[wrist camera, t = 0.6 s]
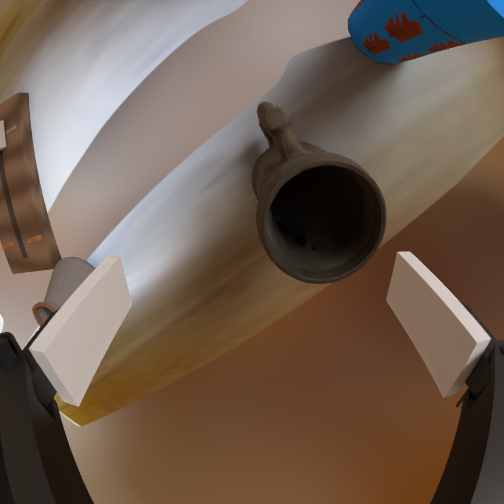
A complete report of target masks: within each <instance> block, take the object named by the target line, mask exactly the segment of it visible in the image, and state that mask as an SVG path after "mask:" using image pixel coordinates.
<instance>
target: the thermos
mask: <svg viewBox="0 0 504 504" xmlns="http://www.w3.org/2000/svg"><path fill="white" fill-rule="evenodd" d="M348 30H349V33H350V35H351V38H352V40H353V42H354V43H355V44H356V46H357V47H358V48H359V49H360V50H361V51H362V52H363V53H364V54H366V55H367V56H368V57H369V58H371V59H373V60H376V61H378V62H380V63H385V64H395V63H400V62H404V61H408V60H412V59H416V58H419V57H422V56H425V55H429V54H432V53H435V52H439V51H442V50H446V49H449V48H453V47H457V46H461V45H465V44H469V43H473V42H478V41H483V40H488V39H493V38H499V37H504V0H361V1H360V2H359V3H358V4H357V6H356V7H355V8H354V10H353V11H352V13H351V15H350V17H349V19H348Z"/></svg>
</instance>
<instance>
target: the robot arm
mask: <svg viewBox="0 0 504 504" xmlns="http://www.w3.org/2000/svg"><path fill="white" fill-rule="evenodd" d="M386 301H387V302H388V304H389V305H390V307H391V308H392V310H393V311H394V313H395V315H396V316H397V318H398V319H399V321H400V322H401V324H402V326H403V327H404V329H405V330H406V332H407V334H408V335H409V337H410V339H411V340H412V342H413V344H414V345H415V347H416V349H417V350H418V352H419V354H420V355H421V357H422V359H423V361H424V362H425V364H426V366H427V368H428V369H429V371H430V373H431V375H432V377H433V379H434V380H435V382H436V384H437V386H438V388H439V390H440V392H441V394H442V395H443V397H444V398H445V397H448V396H451V395H453V394H456V393H458V392H459V390H460V389H461V388H462V386H463V385H464V383H465V382H466V384H467V386H468V387H469V388H468V389H467V390H466V392H465V393H464V395H463V396H462V397H461V399H460V400H459V402H458V403H457V405H456V407H458V406H459V405H460V404H461V403H462V402H463V405H462V407H461V409H462V410H461V414H460V419H459V423H458V427H457V431H456V435H455V438H454V442H453V445H452V449H451V451H450V455H449V458H448V461H447V464H446V466H445V469H444V472H443V475H442V477H441V480H440V482H439V485H438V487H437V490H436V492H435V494H434V497H433V499H432V501H431V503H430V504H504V340H499V341H497V340H496V338H495V337H494V336H493V335H492V334H491V332H490V331H489V330H488V329H487V328H486V326H485V325H484V324H483V323H482V322H481V321H479V318H478V317H477V316H476V315H474V313H473V311H472V310H471V309H470V308H469V307H468V306H467V305H465V304H464V303H462V302H461V301H459V300H457V298H456V297H455V296H454V295H453V294H452V293H451V292H450V291H449V290H448V289H447V288H446V287H445V286H444V285H443V284H442V283H441V282H440V281H439V280H438V279H437V278H436V277H435V276H434V275H433V274H432V273H431V272H430V271H429V270H428V269H427V268H426V267H425V266H424V265H423V264H422V263H421V262H420V261H419V260H418V259H417V258H416V257H415V256H414V255H413V254H412V253H411V252H397V256H396V261H395V265H394V270H393V275H392V278H391V283H390V287H389V291H388V295H387V298H386ZM131 306H132V302H131V298H130V295H129V291H128V287H127V283H126V279H125V275H124V271H123V267H122V263H121V259H120V256H119V257H106V258H105V259H104V260H103V261H102V262H101V263H100V264H99V265H98V266H97V267H96V269H95V270H94V271H93V272H92V273H91V274H90V275H89V276H88V277H87V278H86V279H85V280H84V282H83V283H82V284H81V285H80V286H79V287H78V288H77V289H76V291H75V292H74V293H73V294H72V295H71V296H70V297H69V299H68V300H67V301H66V302H65V303H64V304H63V306H62V307H61V308H59V309H58V310H56V311H55V312H53V313H52V314H51V315H50V316H49V317H48V318H47V320H46V321H45V322H44V324H43V325H42V326H41V327H40V328H39V330H38V331H37V332H36V333H35V335H34V336H33V337H32V338H31V340H30V341H29V342H28V344H27V345H26V346H25V348H24V349H23V350H21V348H20V346H19V345H18V343H17V341H16V339H15V337H14V336H13V335H12V334H11V333H9V332H5V333H1V334H0V504H94V503H93V501H92V499H91V497H90V495H89V493H88V490H87V488H86V486H85V484H84V482H83V479H82V477H81V475H80V472H79V470H78V467H77V465H76V462H75V460H74V457H73V454H72V452H71V449H70V446H69V443H68V440H67V437H66V434H65V431H64V427H63V424H62V420H61V417H60V413H59V409H58V406H57V403H56V401H55V400H54V396H55V394H56V392H57V393H58V395H59V396H60V397H61V399H62V400H63V402H66V403H69V404H72V405H75V406H79V405H80V403H81V401H82V399H83V397H84V395H85V393H86V390H87V388H88V386H89V384H90V382H91V380H92V378H93V376H94V374H95V372H96V370H97V368H98V366H99V364H100V362H101V360H102V359H103V357H104V355H105V353H106V351H107V349H108V347H109V345H110V343H111V342H112V340H113V338H114V336H115V334H116V332H117V331H118V329H119V327H120V325H121V324H122V322H123V320H124V318H125V316H126V315H127V313H128V311H129V310H130V308H131Z"/></svg>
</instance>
